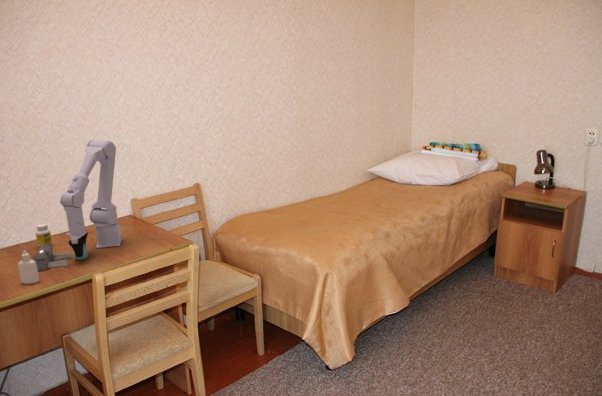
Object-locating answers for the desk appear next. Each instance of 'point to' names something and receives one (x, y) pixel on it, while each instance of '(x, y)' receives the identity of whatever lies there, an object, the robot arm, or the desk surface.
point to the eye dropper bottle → (28, 269)
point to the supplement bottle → (43, 235)
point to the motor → (49, 258)
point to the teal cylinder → (85, 253)
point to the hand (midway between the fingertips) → (81, 254)
